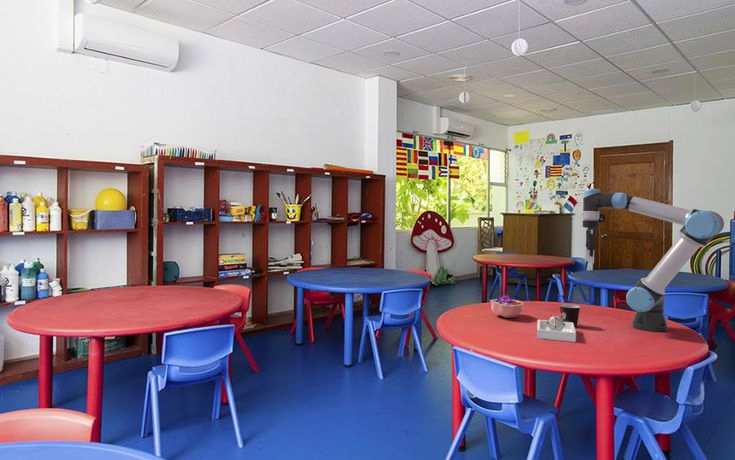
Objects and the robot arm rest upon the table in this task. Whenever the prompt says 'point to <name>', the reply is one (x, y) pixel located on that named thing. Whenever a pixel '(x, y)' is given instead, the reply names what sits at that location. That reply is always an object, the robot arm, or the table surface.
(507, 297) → the cell model
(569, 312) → the coffee mug
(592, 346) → the table surface
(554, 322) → the game die
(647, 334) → the table surface
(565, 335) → the sorting tray
